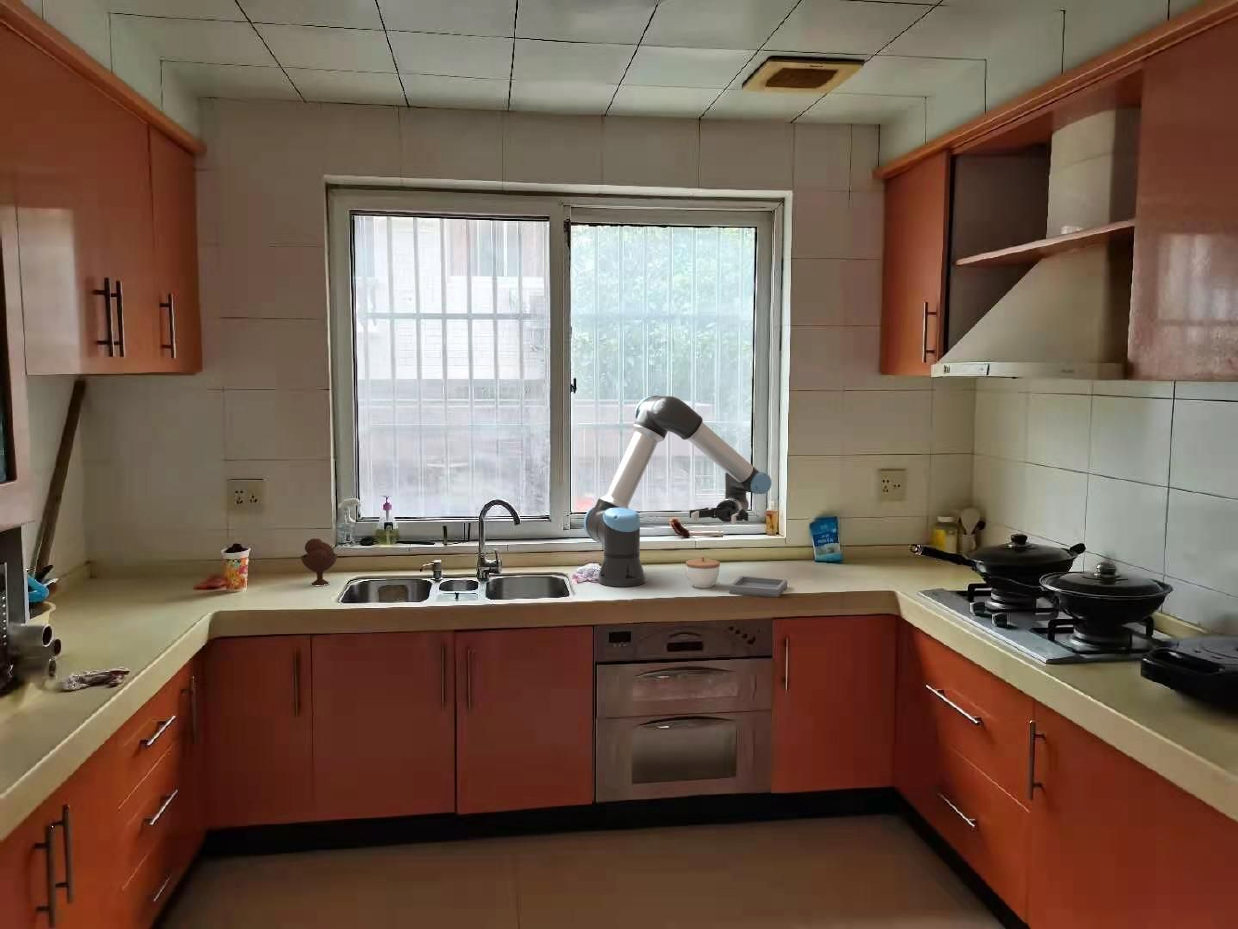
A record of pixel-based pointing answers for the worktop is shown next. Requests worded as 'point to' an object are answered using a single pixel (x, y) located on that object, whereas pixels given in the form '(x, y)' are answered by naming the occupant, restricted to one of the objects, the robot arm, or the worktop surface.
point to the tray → (758, 586)
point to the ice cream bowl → (318, 558)
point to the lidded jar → (702, 572)
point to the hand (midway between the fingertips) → (712, 518)
